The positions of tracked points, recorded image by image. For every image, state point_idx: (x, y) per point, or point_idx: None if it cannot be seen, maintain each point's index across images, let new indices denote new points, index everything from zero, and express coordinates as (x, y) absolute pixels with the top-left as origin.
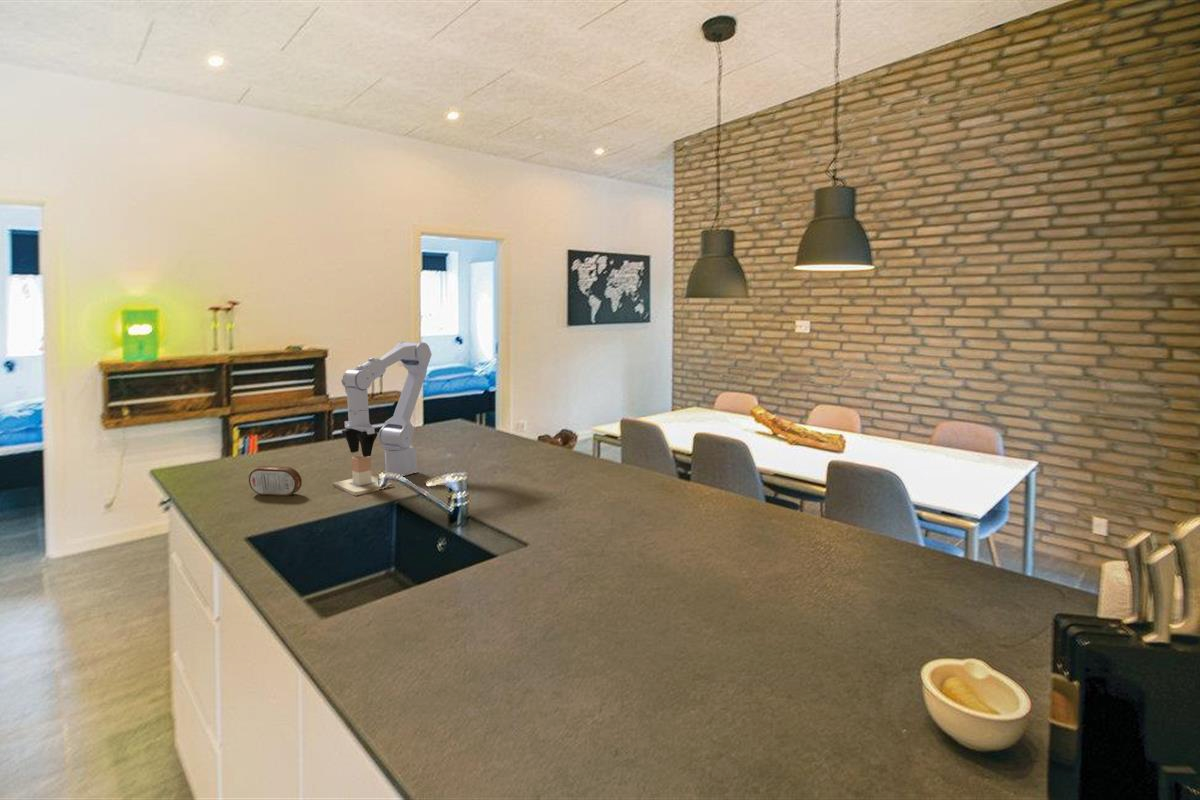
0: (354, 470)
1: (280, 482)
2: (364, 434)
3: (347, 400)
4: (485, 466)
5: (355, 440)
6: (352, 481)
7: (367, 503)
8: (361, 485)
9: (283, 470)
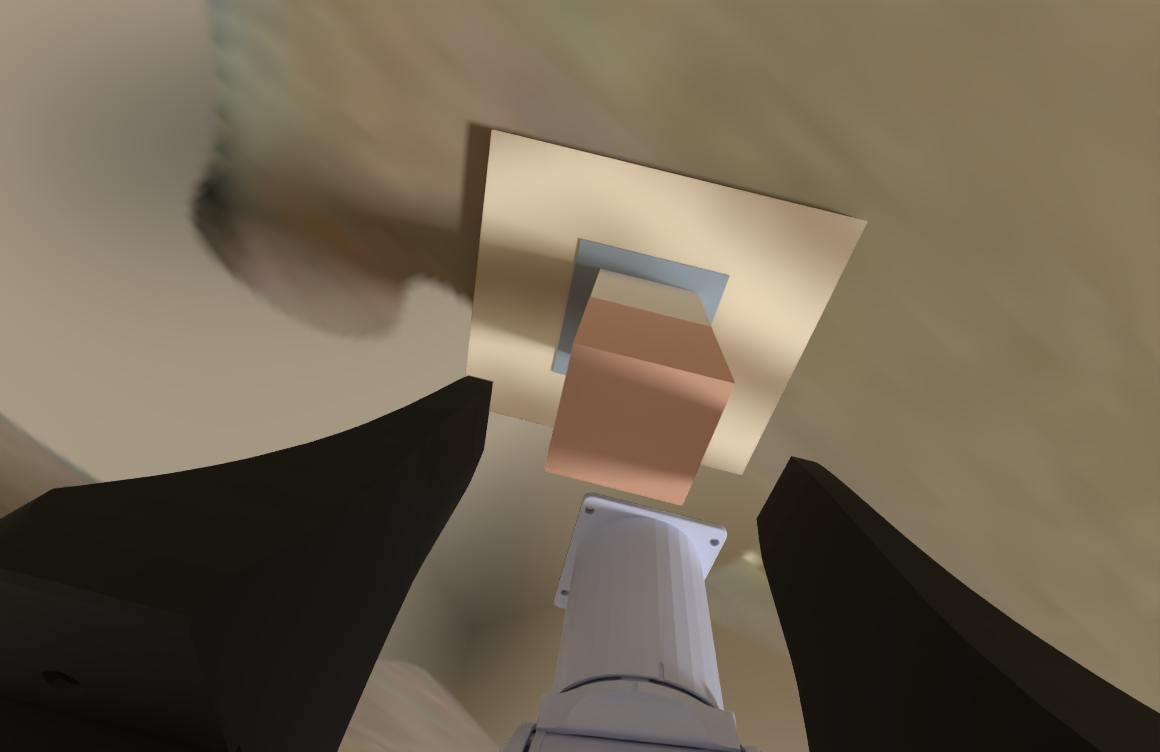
0: (667, 317)
1: None
2: (1, 672)
3: None
4: (407, 718)
5: (829, 650)
6: (737, 323)
7: (278, 49)
8: (592, 280)
9: None
